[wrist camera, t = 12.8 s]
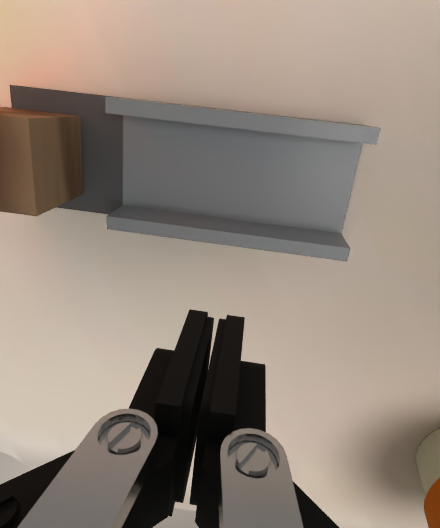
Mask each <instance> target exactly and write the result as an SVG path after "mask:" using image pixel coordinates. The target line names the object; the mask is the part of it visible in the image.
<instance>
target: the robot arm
mask: <svg viewBox="0 0 440 528" xmlns="http://www.w3.org/2000/svg"><path fill="white" fill-rule="evenodd" d="M244 319H245V317H238V316H231V315H227V318H226V320H225V319H219V322H218V327H217V332H216V336H215V341H214V346H213V350H212V355H211V360H210V364H209V358H210V349H211V340H212V332H213V323H214V318H212V317H208V312H203V311H196V310H189V313H188V315H187V318H186V321H185V324H184V326H183V329H182V332H181V334H180V337H179V340H178V342H177V345H176V348H175V351H173V350H166V349H160V348H157V349H156V350H155V351H154V353H153V356H152V358H151V360H150V362H149V364H148V367H147V369H146V371H145V373H144V376H143V378H142V380H141V382H140V384H139V387H138V389H137V391H136V393H135V396H134V398H133V400H132V402H131V404H130V407H129V409H120V410H116V411H113V412H110V413H108V414H107V415H105V416H103V417H102V418H101V419H100V420H99V421H98V422H97V423H96V424H95V425H94V426H93V427H92V429H91V430H90V431H89V433H88V434H87V435H86V437H85V438H84V439H83V441H82V442H81V443H80V445H79V446H78V447H77V449H76V450H74V451H72V452H70V453H68V454H65V455H63V456H61V457H59V458H57V459H55V460H53V461H50V462H48V463H46V464H44V465H42V466H40V467H37V468H35V469H33V470H31V471H29V472H27V473H24V474H22V475H20V476H18V477H16V478H14V479H11V480H9V481H7V482H5V483H3V484H1V485H0V528H153V526H155V525H156V524H158V523H159V522H161V521H162V520H164V519H165V518H167V517H168V516H172V512H173V508H174V504H175V502H181V503H183V501H184V496H185V491H186V486H187V482H188V477H189V472H190V467H191V462H192V457H193V452H194V448H195V443H196V450H195V459H194V468H193V478H192V487H191V496H190V504H192V505H197V510H196V518H195V522H196V524H197V525H198V527H199V528H339V527H338V526H337V525H336V524H335V523H334V522H333V521H332V520H331V519H330V518H329V517H328V516H327V515H326V514H325V513H324V512H323V511H322V510H321V509H320V508H319V507H318V506H317V505H316V504H315V503H314V502H313V501H312V500H311V499H310V498H309V497H308V496H307V495H306V494H305V493H304V492H303V491H302V490H301V489H300V488H299V487H298V486H297V485H296V484H295V483H294V482H293V481H292V477H291V472H290V468H289V464H288V460H287V456H286V453H285V451H284V448H283V447H282V445H281V444H280V443H279V442H278V440H277V439H275V438H274V437H273V436H271V435H270V434H268V433H266V399H265V364H258V363H252V362H245V361H241V351H242V341H243V330H244ZM208 367H209V369H208ZM196 438H197V440H196Z"/></svg>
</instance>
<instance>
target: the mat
mask: <svg viewBox="0 0 440 528" xmlns="http://www.w3.org/2000/svg"><path fill="white" fill-rule="evenodd" d="M10 93H11V103H12V108H16V109H25V110H33V111H42V112H50V113H59V114H67V115H76V116H81V144H82V172H83V194H82V195H80V196H78V197H76V198H74V199H72V200H69V201H67V202H65V203H63V204H61V205H59V206H57V207H58V208H66V209H73V210H81V211H88V212H96V213H103V214H111V213H112V212H114V211H115V210H116V209H118V208H119V207H121V206H122V205H123V115H119V114H110V113H106V110H105V97H111V96H102V95H93V94H84V93H75V92H67V91H58V90H49V89H40V88H31V87H23V86H14V85H10ZM115 98H119V97H115Z"/></svg>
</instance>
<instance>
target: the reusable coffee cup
mask: <svg viewBox="0 0 440 528" xmlns="http://www.w3.org/2000/svg"><path fill="white" fill-rule="evenodd" d="M416 463H417V467H418V471H419V474H420V478H421V482H422V486H423V489H424V493H425V500H424V511H425V515H426V519H427V523H428V527H429V528H440V428H439V429H437V430H435V431H434V432H432V433H431V434H429V435H428V436H427V437H426V438H425V439H424V440H423V441H422V442H421V444H420V446H419V447H418V450H417V453H416Z"/></svg>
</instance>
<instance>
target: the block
mask: <svg viewBox="0 0 440 528" xmlns="http://www.w3.org/2000/svg"><path fill="white" fill-rule="evenodd" d="M82 194H83V172H82V144H81V116H76V115H67V114H59V113H50V112H42V111H33V110H25V109H16V108H8V107H0V211H2V212H9V213H17V214H24V215H32V216H38V215H40V214H42V213H44V212H46V211H48V210H51V209H53V208H55V207H57V206H59V205H61V204H63V203H65V202H67V201H69V200H72V199H74V198H76V197H78V196H80V195H82Z"/></svg>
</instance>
